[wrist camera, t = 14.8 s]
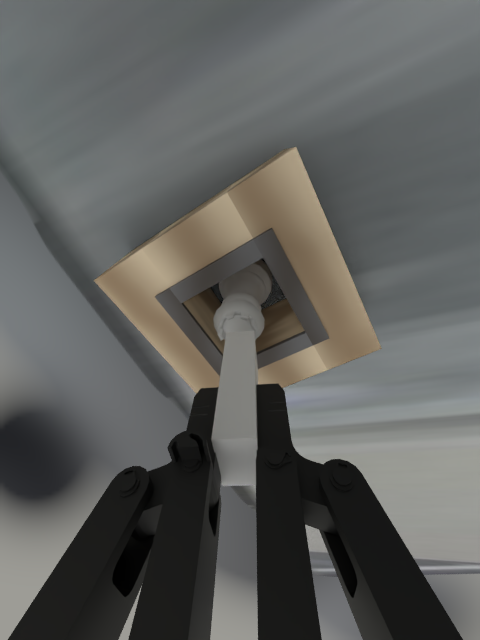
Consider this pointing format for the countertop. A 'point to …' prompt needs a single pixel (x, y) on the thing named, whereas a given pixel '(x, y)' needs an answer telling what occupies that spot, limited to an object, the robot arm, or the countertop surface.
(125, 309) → the socket block
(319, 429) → the countertop surface
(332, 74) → the countertop surface
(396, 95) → the countertop surface
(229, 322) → the rook chess piece
